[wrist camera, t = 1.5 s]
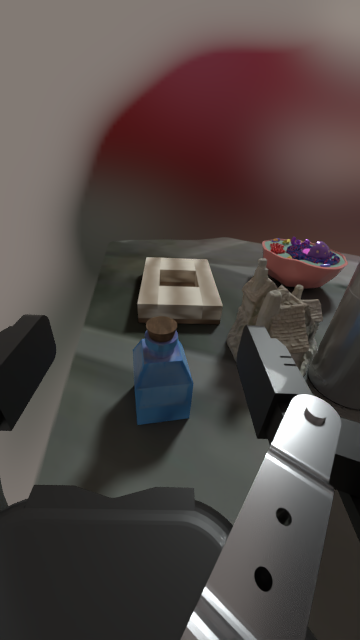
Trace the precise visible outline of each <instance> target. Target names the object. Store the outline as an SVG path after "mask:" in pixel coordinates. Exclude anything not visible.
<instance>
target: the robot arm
mask: <svg viewBox="0 0 360 640" xmlns="http://www.w3.org/2000/svg"><path fill="white" fill-rule="evenodd" d="M55 355H56V344H55V341H54V337H53V334H52V330H51V326H50V322H49V319H48V317H47V316H45V315H23V316H22V317H21V318H20V319H19V320H18V321H17V322H16V323H15V324H14V325H13V326H10V327H8V328H6V329H4V330H3V331H1V332H0V431H1V430H2V431H12V429H13V428H14V426H15V424H16V422H17V421H18V419H19V418H20V416H21V414H22V413H23V411H24V409H25V408H26V406H27V404H28V402H29V401H30V399H31V398H32V396H33V394H34V392H35V391H36V389H37V388H38V386H39V384H40V383H41V381H42V379H43V377H44V376H45V374H46V372H47V371H48V369H49V367H50V366H51V364H52V362H53V361H54V358H55ZM237 368H238V372H239V376H240V379H241V383H242V386H243V390H244V393H245V397H246V401H247V404H248V408H249V411H250V415H251V418H252V422H253V425H254V429H255V433H256V436H257V439H268V441H269V444H270V448H269V450H268V452H267V454H266V457H265V459H264V461H263V463H262V465H261V467H260V470H259V472H258V474H257V476H256V478H255V480H254V482H253V485H252V487H251V489H250V491H249V493H248V495H247V498H246V500H245V502H244V504H243V506H242V508H241V510H240V513H239V515H238V517H237V519H236V521H235V523H234V526H233V525H232V524H231V523H230V522H229V521H228V520H227V519H226V518H225V517H224V516H223V515H221V514H220V513H219V512H218V511H216V510H215V509H213V508H212V507H210V506H208V505H206V504H204V503H202V502H199V501H196V500H194V488H174V487H154V488H150V489H147V490H143V491H139V492H136V493H132V494H128V495H125V496H121V497H117V498H109V497H106V496H103V495H100V494H97V493H94V492H91V491H89V490H86V489H83V488H80V487H77V486H69V485H34V486H33V489H32V491H31V493H30V495H29V498H28V499H25V500H22V501H20V502H17V503H14V504H12V505H10V506H8V504H7V502H6V499H5V497H4V494H3V491H2V485H1V480H0V640H317V639H316V638H315V636H314V635H313V633H312V632H311V631H310V629H309V628H308V627H307V626H308V621H309V616H310V611H311V606H312V601H313V596H314V591H315V586H316V581H317V576H318V571H319V566H320V561H321V556H322V551H323V546H324V541H325V536H326V531H327V526H328V521H329V516H330V511H331V506H332V501H333V494H334V489H336V490H338V492H339V494H340V497H341V499H342V501H343V504H344V506H345V508H346V511H347V513H348V515H349V518H350V520H351V522H352V525H353V527H354V530H355V532H356V534H357V537H358V539H359V541H360V423H357V422H354V421H351V420H347V419H344V418H341V417H339V415H338V413H337V412H336V410H335V409H334V408H333V407H332V406H331V405H329V404H328V403H327V402H325V401H324V400H322V399H320V398H318V397H315V396H313V394H312V392H311V390H310V389H309V387H308V385H307V383H306V381H305V380H304V378H303V376H302V374H301V373H300V371H299V369H298V367H297V366H296V364H295V362H294V360H293V358H291V355H290V353H289V351H288V349H287V348H286V346H285V345H283V344H282V343H281V342H280V341H279V340H278V339H276V338H270V336H269V334H268V332H267V330H266V328H265V327H264V326H256V325H245V326H244V328H243V332H242V336H241V340H240V344H239V348H238V352H237ZM308 375H309V378H310V381H311V382H312V384H313V385H314V387H315V388H316V389H317V390H318V391H319V392H320V393H322V394H323V395H324V396H325V397H327V398H328V399H330V400H332V401H333V402H335V403H338V404H340V405H342V406H345V407H348V408H352V409H358V410H360V262H359V264H358V266H357V268H356V270H355V272H354V274H353V277H352V279H351V281H350V283H349V285H348V287H347V289H346V291H345V293H344V295H343V298H342V300H341V302H340V304H339V306H338V308H337V310H336V312H335V314H334V316H333V318H332V320H331V323H330V325H329V327H328V329H327V331H326V333H325V335H324V337H323V339H322V341H321V343H320V345H319V347H318V350H317V352H316V354H315V356H314V358H313V360H312V362H311V364H310V366H309V368H308Z"/></svg>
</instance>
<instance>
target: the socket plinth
mask: <svg viewBox="0 0 360 640" xmlns="http://www.w3.org/2000/svg"><path fill="white" fill-rule="evenodd" d="M137 305H138V323H147V321H148V320H149V319H151V318H153V317H157V316H166V317H170V318H172V319H174V320H175V321H176V323H182V324H220V319H221V313H222V307H223V305H222V302H221V299H220V296H219V293H218V290H217V287H216V284H215V281H214V278H213V275H212V273H211V270H210V267H209V264H208V261H207V260H205V259H178V258H151V257H147V258H146V263H145V268H144V273H143V278H142V283H141V288H140V293H139V298H138V304H137Z"/></svg>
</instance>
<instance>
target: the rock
mask: <svg viewBox="0 0 360 640" xmlns="http://www.w3.org/2000/svg"><path fill="white" fill-rule="evenodd" d="M266 265H267V260H266V258H261V259H259V260H258V267H257V269H256V271H255V273H254V276H253V277H252V279H251V280H250V281H249V282H248V283H246V284H245V285H244V287H243V289H242V291H243V294H244V295H243V301H242V305H241V307H239V312H238V313H237V318H236V321H235V323H234V324H233V326H232V328H231V330H230V332H229V334H228V336H227V344H228V346H229V348H230V350H231V353H232V354H233V357H234V359H235V361H236V362H237V352H238V348H239V344H240V340H241V336H242V332H243V328H244V326H245V325H256V326H264V327H265V328H266V330H267V332H268V334H269V336H270V338H276V339H278V340H279V341H280V342H281V343H282V344H283V345H285V346H286V348H287V349H288V351H289V353H290V355H291V358H293V360H294V362H295V364H296V366H297V367H298V369H299V371H300V373H301V374H302V376H303V377H304V376H305V374H306V371H307V369H308V367H309V365H310V363H311V361H312V359H313V358H314V356H315V354H316V352H317V342H316V341H315V338H314V335H315V333H316V331H317V330H318V326H319V322H321V321H323V316H322V310H321V303H320V301H319V299H314V300H301V295H302V291H303V289H304V288H303V286H302V285H296V286H295V289H294V291H293V292H292V294H291V293H290V292H289V291H288V289H286V288H285V287H284V286H282V285H281V286H280V287H279V288H277V286H276V285H275V283H274V282H273V281H272V280H271V279H269V278H268V269H267V268H266Z"/></svg>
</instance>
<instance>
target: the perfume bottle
mask: <svg viewBox="0 0 360 640" xmlns="http://www.w3.org/2000/svg"><path fill="white" fill-rule="evenodd" d="M146 327H147V330H146V332H145V339H142V340H141V341H140V342H139V343H138V344H137V346H136V347H135V348H134V349H133V363H134V385H135V400H136V413H137V425H141V424H149V423H156V422H164V421H171V420H179V419H186V418H189V415H190V407H191V399H192V390H193V381H192V377H191V374H190V370H189V367H188V363H187V360H186V356H185V353H184V349H183V346H182V345H181V343H180V342H179V340H178V333H177V331H176V328H177V323H176V321H175V320H174V319H172V318H170V317H166V316H157V317H153V318H151V319H149V320H148V321H147V323H146Z"/></svg>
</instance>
